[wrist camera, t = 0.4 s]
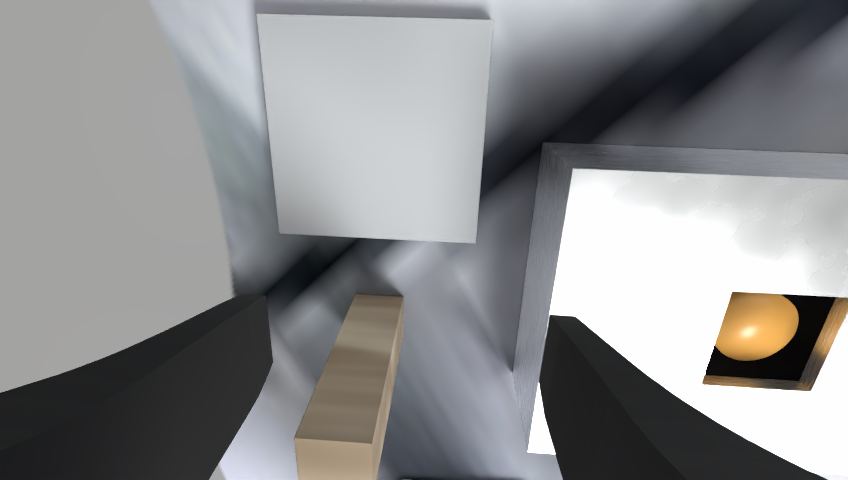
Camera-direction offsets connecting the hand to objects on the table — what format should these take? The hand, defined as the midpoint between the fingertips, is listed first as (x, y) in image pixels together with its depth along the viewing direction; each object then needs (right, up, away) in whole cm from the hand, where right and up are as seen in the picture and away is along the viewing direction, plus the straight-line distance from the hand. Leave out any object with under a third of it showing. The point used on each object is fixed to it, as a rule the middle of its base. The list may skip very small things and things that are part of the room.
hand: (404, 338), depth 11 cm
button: (+13, 0, +7) cm, 15 cm away
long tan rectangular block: (-2, -1, +11) cm, 11 cm away
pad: (-2, +7, +8) cm, 10 cm away
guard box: (+13, +1, +9) cm, 16 cm away
